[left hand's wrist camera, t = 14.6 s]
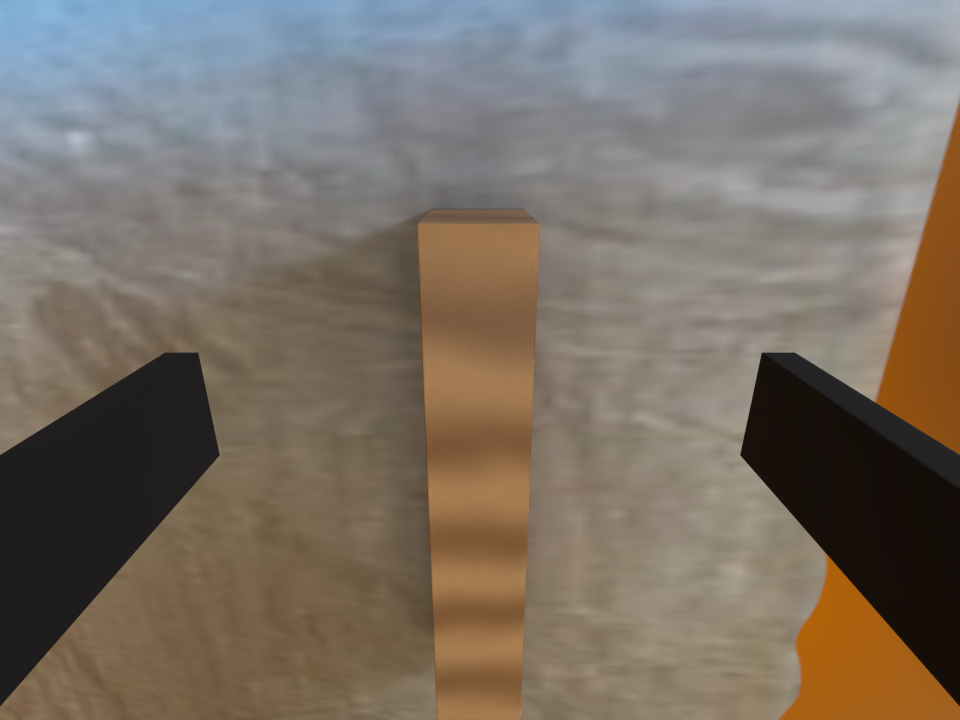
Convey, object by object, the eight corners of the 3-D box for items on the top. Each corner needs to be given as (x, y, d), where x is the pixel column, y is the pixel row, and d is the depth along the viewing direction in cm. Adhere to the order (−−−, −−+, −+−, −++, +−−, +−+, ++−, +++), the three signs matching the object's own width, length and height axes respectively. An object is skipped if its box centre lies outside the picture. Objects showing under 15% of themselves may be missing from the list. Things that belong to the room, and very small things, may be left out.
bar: (431, 209, 31) (416, 223, 23) (524, 209, 31) (539, 223, 23) (445, 634, 43) (437, 736, 35) (512, 634, 43) (519, 736, 35)
